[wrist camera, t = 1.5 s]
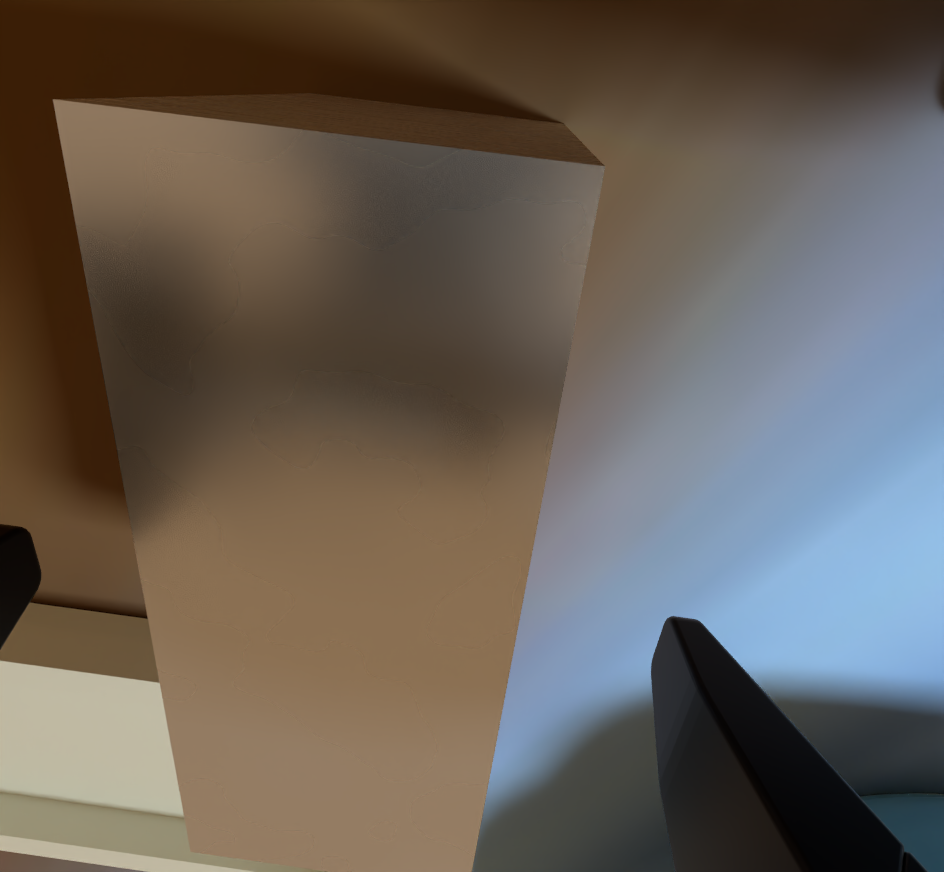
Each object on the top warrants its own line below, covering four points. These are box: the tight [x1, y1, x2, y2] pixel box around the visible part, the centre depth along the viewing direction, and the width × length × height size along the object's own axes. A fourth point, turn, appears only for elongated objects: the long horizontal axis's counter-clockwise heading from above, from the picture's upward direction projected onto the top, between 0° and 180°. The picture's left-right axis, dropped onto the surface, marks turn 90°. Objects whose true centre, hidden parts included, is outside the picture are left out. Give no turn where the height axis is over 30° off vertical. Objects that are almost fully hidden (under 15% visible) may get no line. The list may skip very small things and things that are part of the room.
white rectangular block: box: [53, 93, 605, 872], centre depth 12 cm, size 5×12×8 cm, turn 174°
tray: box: [0, 603, 327, 872], centre depth 21 cm, size 19×10×2 cm, turn 84°
